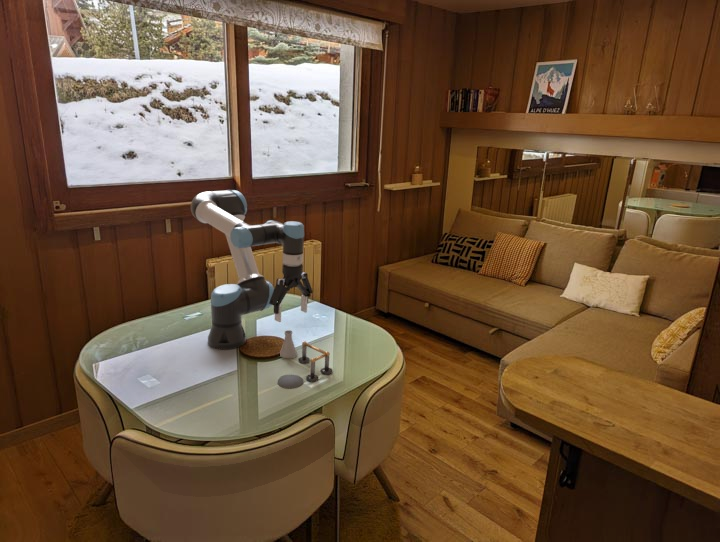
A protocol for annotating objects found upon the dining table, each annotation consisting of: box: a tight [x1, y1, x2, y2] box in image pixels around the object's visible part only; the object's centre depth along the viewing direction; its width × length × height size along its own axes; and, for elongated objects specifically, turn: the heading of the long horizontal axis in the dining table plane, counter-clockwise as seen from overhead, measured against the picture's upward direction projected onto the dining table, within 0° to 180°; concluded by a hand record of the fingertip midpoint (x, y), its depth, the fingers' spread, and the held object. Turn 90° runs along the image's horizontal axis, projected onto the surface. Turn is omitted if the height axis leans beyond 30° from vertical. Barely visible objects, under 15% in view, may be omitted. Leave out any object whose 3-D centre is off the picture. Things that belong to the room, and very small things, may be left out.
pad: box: [277, 374, 304, 389], centre depth 176 cm, size 9×9×1 cm
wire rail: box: [298, 340, 333, 383], centre depth 184 cm, size 16×12×8 cm
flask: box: [279, 329, 298, 359], centre depth 194 cm, size 7×7×10 cm
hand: (291, 316), depth 190 cm, fingers open, 13 cm apart
